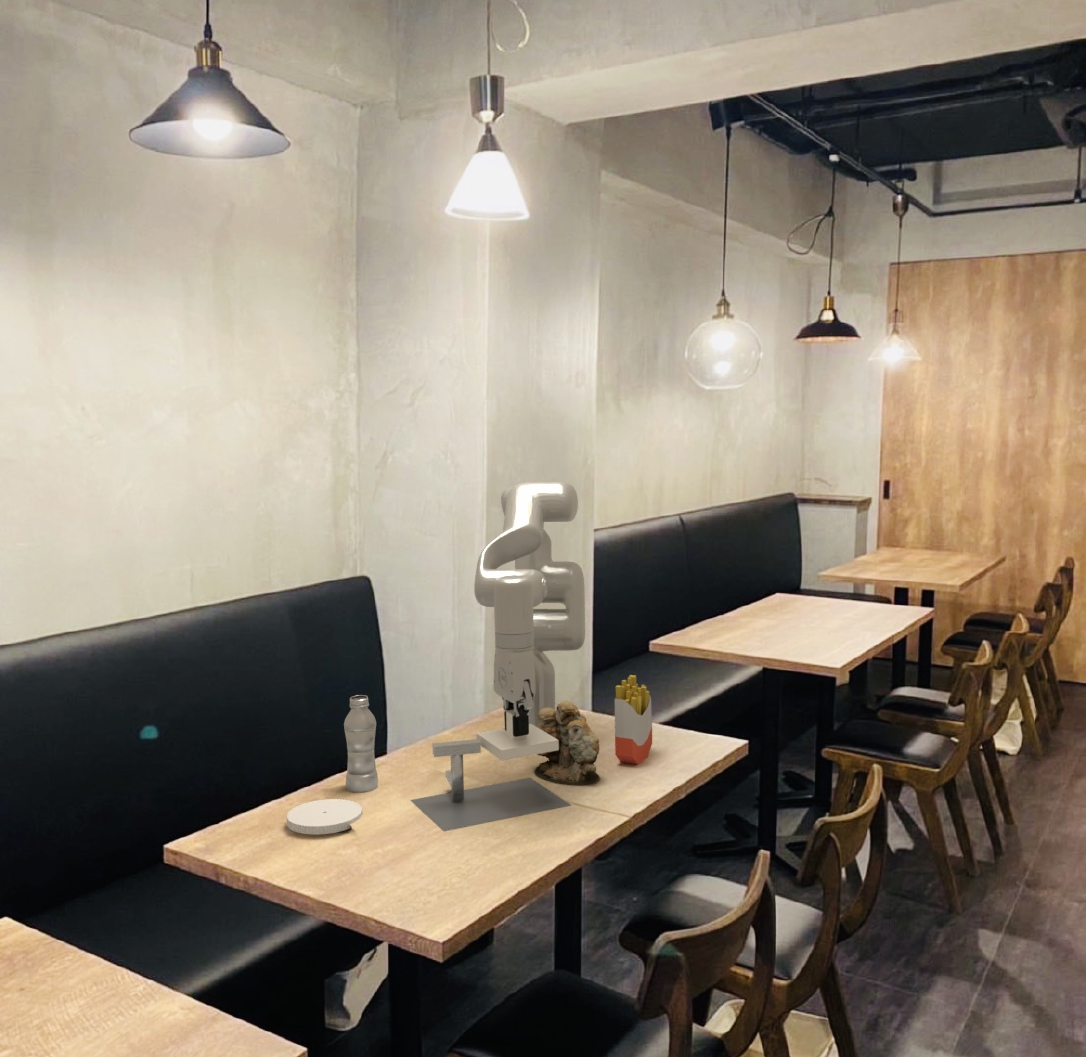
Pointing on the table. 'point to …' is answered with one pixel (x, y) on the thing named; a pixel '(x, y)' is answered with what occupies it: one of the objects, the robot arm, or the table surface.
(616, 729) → the french fries container
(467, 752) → the t key
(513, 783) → the base
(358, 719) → the plastic bottle
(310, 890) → the table surface
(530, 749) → the cover
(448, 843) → the table surface
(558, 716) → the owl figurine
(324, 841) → the table surface
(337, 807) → the plastic lid
